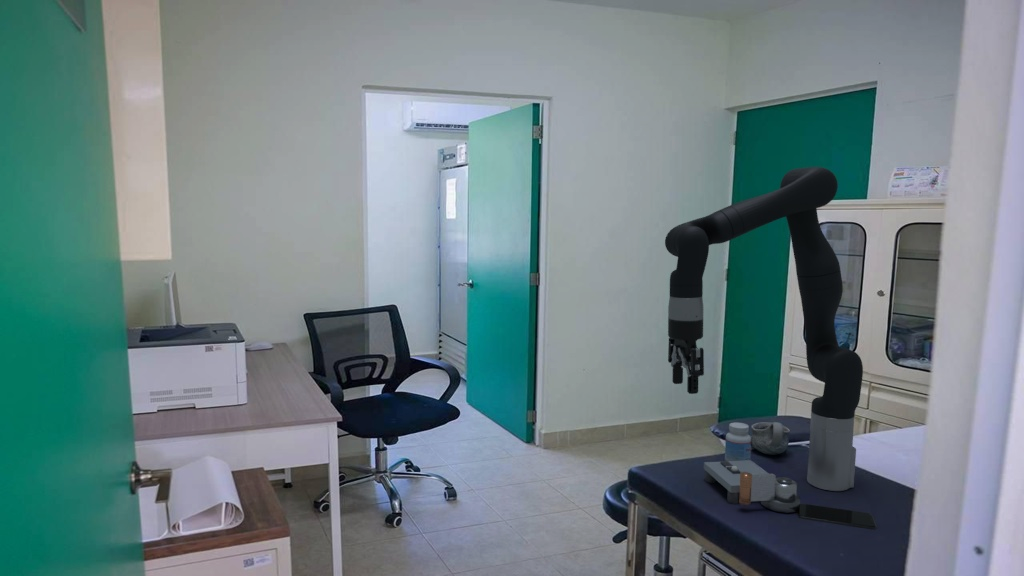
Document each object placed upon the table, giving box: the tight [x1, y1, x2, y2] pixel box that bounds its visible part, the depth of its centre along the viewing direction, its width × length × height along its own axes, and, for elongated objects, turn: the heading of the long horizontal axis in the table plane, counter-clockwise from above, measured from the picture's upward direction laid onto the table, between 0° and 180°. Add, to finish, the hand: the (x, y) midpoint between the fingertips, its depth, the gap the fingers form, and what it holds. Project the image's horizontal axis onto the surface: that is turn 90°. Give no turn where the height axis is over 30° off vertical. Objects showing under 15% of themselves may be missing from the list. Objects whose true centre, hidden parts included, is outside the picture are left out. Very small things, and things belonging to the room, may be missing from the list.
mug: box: [750, 421, 791, 456], centre depth 179 cm, size 10×12×10 cm
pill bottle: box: [724, 422, 752, 461], centre depth 169 cm, size 6×6×11 cm
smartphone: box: [796, 502, 877, 530], centre depth 143 cm, size 7×1×15 cm
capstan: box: [738, 472, 801, 514], centre depth 147 cm, size 14×8×8 cm, turn 99°
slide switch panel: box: [703, 459, 770, 505], centre depth 156 cm, size 12×14×6 cm
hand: (684, 388), depth 150 cm, fingers open, 8 cm apart
